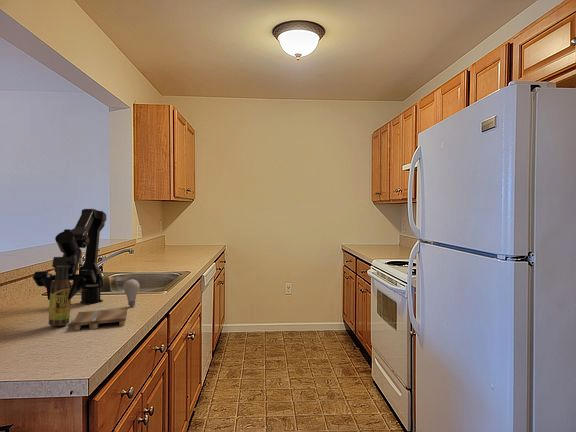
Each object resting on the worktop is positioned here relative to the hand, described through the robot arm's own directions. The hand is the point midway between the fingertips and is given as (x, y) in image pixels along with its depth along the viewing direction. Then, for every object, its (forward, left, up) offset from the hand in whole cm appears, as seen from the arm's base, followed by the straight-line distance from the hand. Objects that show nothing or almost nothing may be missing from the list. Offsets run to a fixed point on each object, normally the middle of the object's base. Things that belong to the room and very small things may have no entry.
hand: (59, 299), depth 132 cm
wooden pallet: (-10, +7, -9) cm, 16 cm away
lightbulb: (-30, -1, -10) cm, 31 cm away
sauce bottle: (-1, -1, -9) cm, 9 cm away
